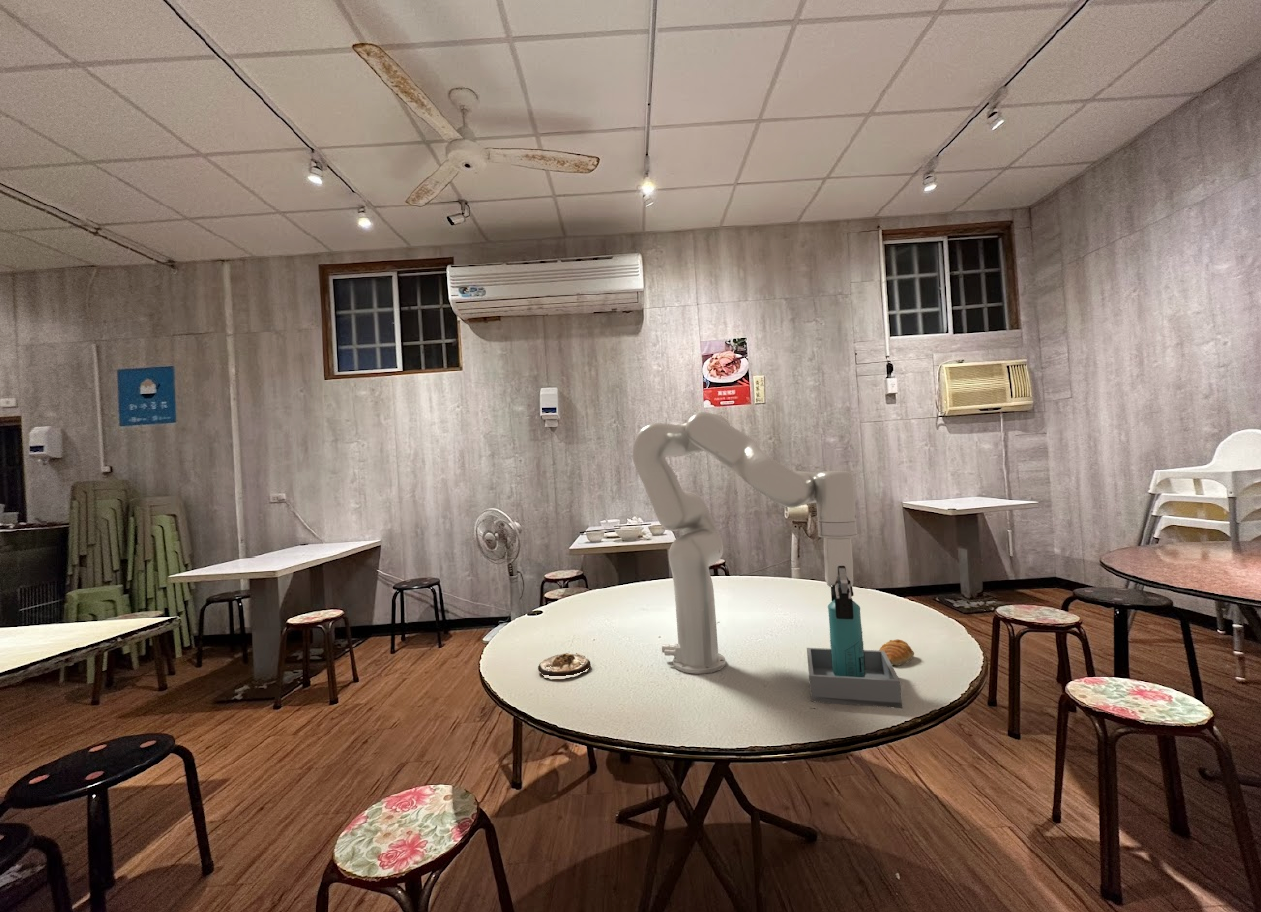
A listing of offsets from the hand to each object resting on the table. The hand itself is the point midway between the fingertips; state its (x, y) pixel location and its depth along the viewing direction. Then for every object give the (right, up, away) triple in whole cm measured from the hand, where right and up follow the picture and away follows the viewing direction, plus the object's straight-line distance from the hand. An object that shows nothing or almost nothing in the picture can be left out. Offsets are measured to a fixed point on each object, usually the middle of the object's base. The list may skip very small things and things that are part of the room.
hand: (842, 611), depth 103 cm
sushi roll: (-60, -21, +19) cm, 67 cm away
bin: (+1, -15, -1) cm, 15 cm away
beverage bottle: (+1, -15, -1) cm, 15 cm away
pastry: (+18, -15, +12) cm, 26 cm away
